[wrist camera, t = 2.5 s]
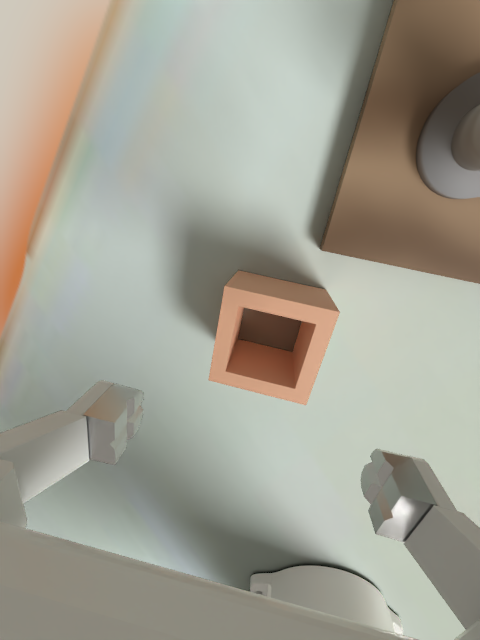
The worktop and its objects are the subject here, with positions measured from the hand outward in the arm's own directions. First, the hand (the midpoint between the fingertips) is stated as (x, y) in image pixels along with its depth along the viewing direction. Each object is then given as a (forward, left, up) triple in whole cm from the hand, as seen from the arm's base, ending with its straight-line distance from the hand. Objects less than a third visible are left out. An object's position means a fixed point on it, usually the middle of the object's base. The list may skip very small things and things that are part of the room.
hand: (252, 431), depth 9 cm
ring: (0, 0, -12) cm, 12 cm away
